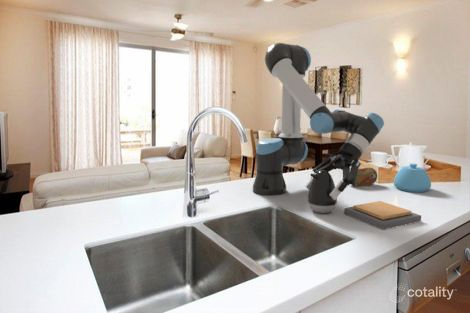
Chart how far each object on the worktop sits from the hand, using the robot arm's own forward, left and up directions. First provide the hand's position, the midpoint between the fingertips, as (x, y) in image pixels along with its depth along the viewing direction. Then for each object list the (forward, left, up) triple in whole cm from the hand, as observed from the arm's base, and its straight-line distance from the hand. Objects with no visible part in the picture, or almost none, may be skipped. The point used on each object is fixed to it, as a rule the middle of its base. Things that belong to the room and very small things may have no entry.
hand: (319, 192), depth 116 cm
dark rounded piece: (0, +2, -7) cm, 7 cm away
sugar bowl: (-8, +59, -7) cm, 60 cm away
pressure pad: (+14, +16, -5) cm, 21 cm away
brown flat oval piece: (-23, +44, -7) cm, 50 cm away
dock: (+14, +16, -7) cm, 22 cm away
